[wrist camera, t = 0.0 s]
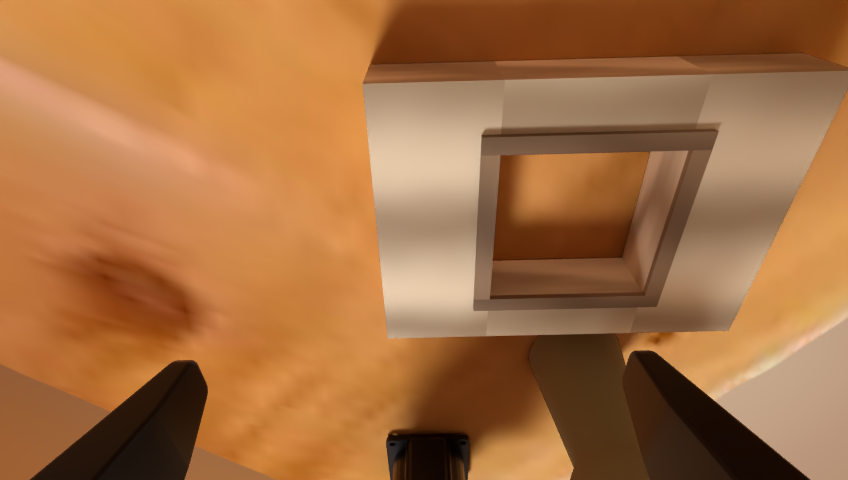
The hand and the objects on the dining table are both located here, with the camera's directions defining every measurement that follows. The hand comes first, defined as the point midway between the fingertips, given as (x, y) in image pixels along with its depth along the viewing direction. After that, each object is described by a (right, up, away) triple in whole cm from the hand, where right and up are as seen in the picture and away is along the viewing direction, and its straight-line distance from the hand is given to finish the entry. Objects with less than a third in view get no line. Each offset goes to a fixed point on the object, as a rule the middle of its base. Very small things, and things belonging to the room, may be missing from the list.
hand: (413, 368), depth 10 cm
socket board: (+8, +5, +14) cm, 17 cm away
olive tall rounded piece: (+10, -5, +21) cm, 24 cm away
